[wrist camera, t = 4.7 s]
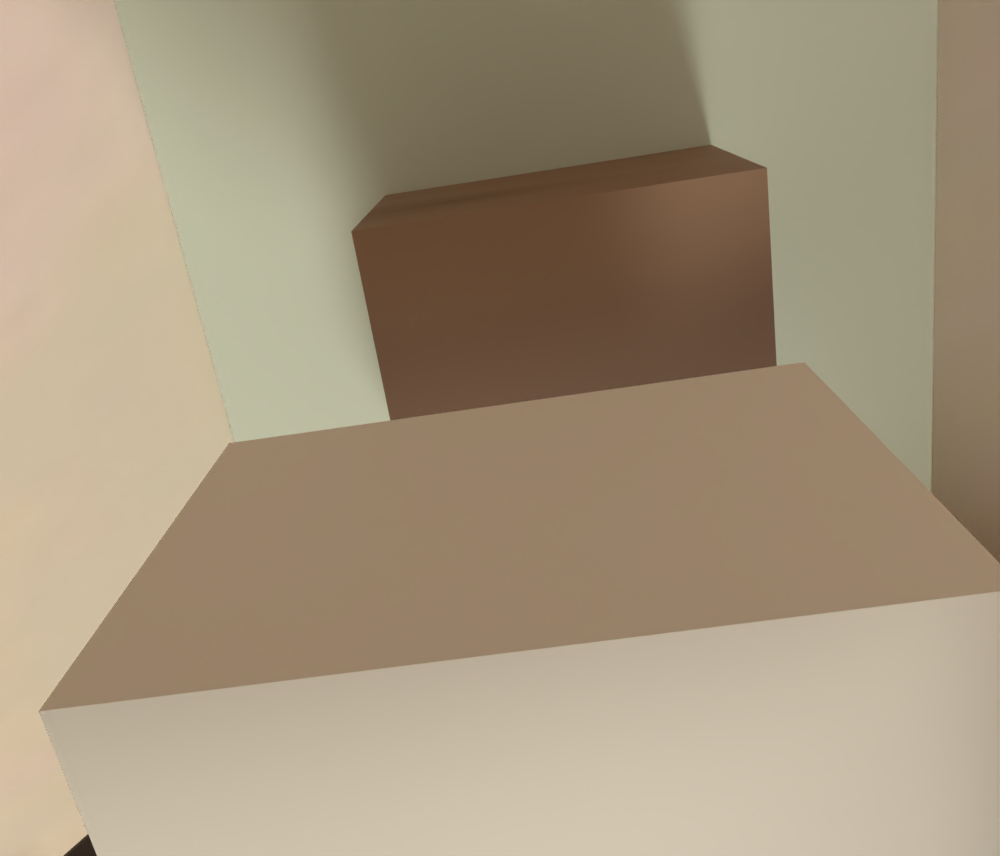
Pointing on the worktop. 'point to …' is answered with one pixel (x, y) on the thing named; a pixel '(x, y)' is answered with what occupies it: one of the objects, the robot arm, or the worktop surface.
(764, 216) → the brick walnut
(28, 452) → the worktop surface
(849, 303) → the baseplate
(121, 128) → the worktop surface
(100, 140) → the worktop surface
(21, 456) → the worktop surface
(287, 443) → the brick cream
